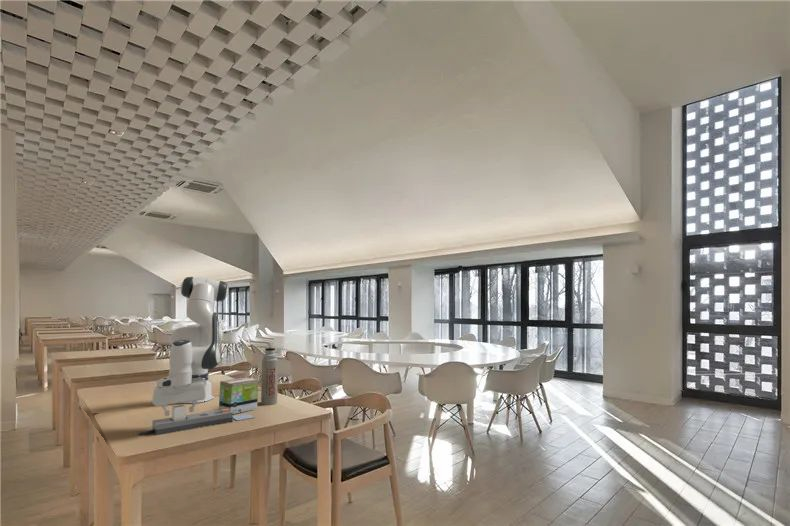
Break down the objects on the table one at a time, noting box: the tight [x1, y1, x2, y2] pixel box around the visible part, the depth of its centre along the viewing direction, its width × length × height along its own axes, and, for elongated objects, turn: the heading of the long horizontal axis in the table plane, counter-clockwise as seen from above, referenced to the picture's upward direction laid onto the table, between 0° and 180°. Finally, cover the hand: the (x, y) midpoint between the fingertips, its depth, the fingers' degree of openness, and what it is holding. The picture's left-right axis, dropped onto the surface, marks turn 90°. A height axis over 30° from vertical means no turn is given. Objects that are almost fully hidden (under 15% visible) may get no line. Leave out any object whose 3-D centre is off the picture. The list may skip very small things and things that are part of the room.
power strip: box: [138, 409, 234, 436], centre depth 190 cm, size 8×36×5 cm, turn 129°
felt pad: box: [233, 413, 256, 422], centre depth 205 cm, size 8×8×1 cm
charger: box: [171, 404, 187, 421], centre depth 188 cm, size 4×4×7 cm
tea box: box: [218, 377, 259, 415], centre depth 218 cm, size 15×10×15 cm, turn 143°
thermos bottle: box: [260, 347, 279, 406], centre depth 234 cm, size 8×8×28 cm
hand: (179, 413), depth 188 cm, fingers open, 8 cm apart
